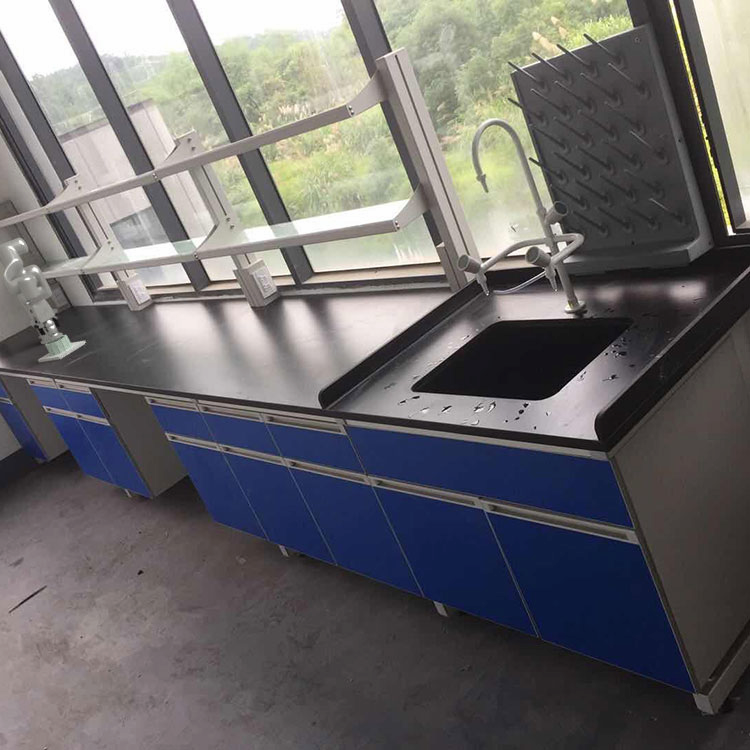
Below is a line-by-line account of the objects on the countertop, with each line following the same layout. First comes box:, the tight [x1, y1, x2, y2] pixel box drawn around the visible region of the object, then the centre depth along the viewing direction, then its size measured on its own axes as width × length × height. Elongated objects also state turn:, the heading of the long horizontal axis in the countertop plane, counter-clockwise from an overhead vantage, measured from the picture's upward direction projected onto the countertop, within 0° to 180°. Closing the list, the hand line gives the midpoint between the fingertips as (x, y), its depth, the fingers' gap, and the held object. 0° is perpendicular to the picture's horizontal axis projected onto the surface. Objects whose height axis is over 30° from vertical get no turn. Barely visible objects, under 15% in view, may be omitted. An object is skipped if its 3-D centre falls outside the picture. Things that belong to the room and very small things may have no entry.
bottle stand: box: [37, 334, 87, 363], centre depth 414 cm, size 18×18×8 cm
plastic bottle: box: [42, 319, 62, 343], centre depth 412 cm, size 6×7×20 cm
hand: (50, 330), depth 411 cm, fingers open, 9 cm apart
